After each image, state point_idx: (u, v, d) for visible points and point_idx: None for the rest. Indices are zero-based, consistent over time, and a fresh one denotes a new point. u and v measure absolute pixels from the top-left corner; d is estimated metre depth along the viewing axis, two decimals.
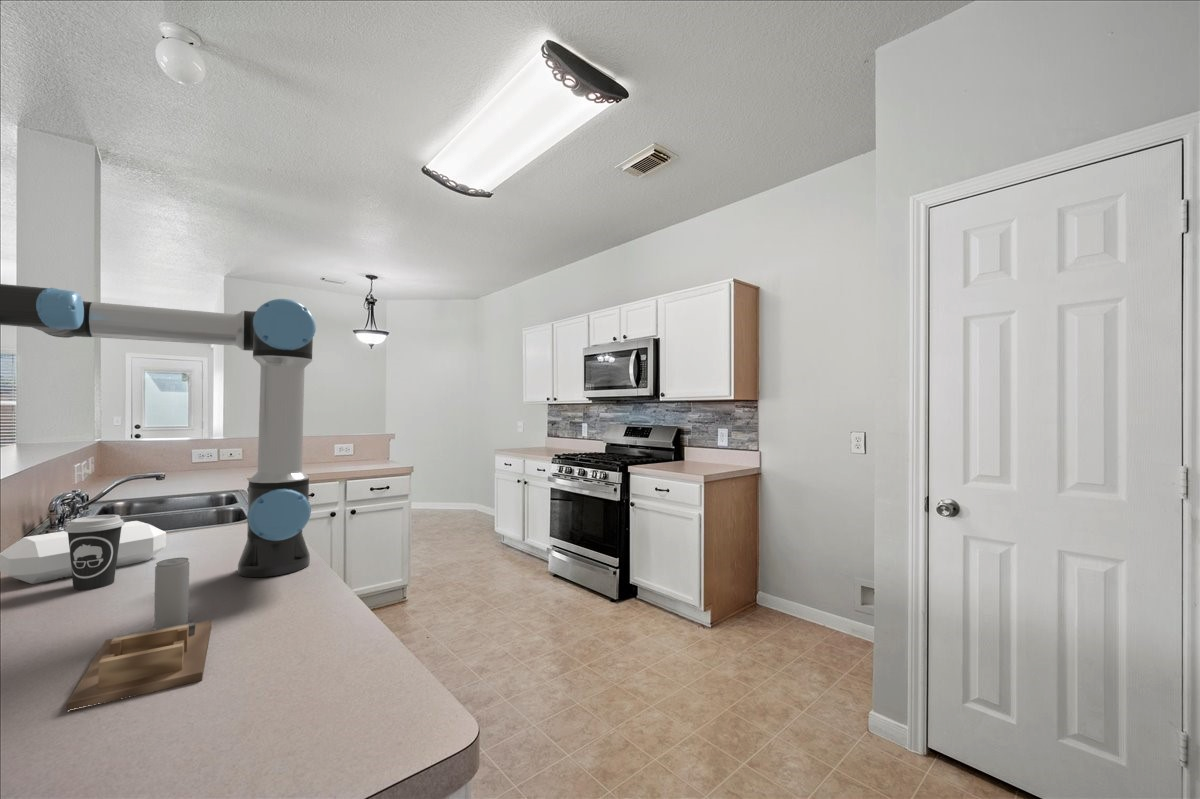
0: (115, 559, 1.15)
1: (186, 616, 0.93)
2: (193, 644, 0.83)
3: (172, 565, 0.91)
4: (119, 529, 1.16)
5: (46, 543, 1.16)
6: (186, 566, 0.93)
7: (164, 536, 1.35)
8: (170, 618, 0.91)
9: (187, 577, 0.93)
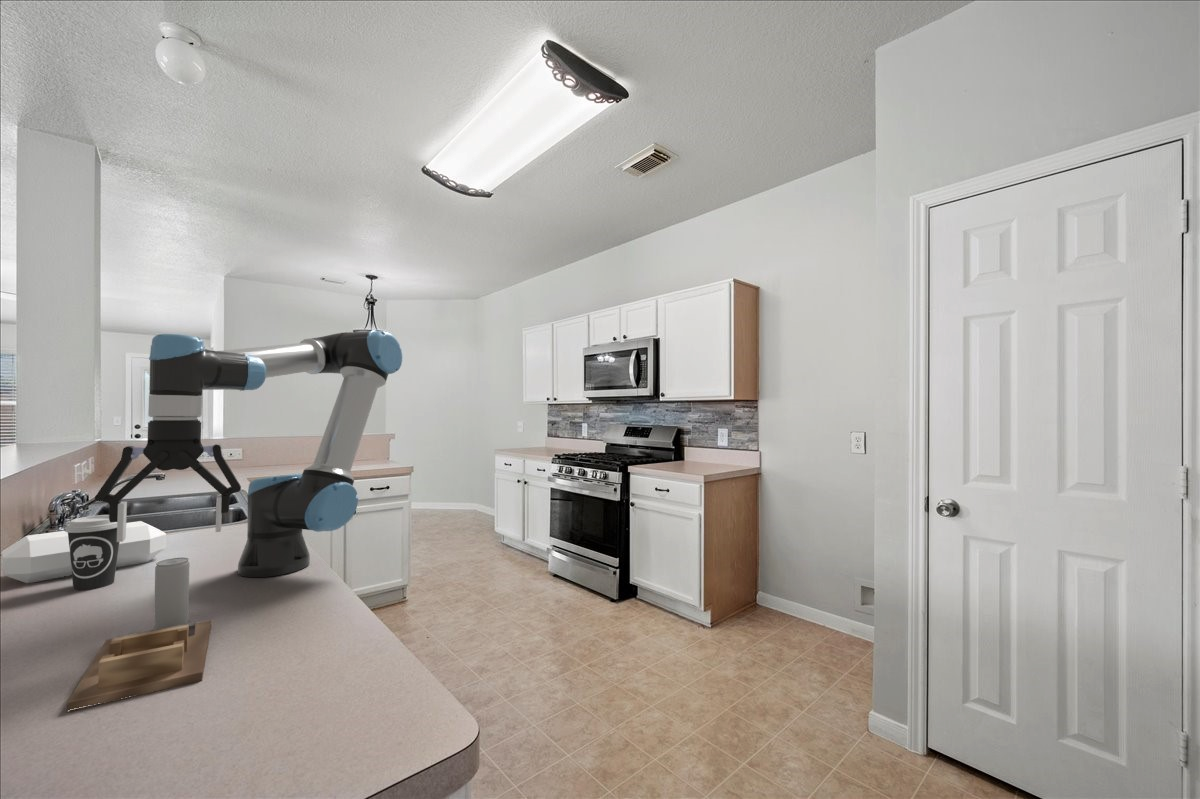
0: (115, 559, 1.15)
1: (186, 616, 0.93)
2: (193, 644, 0.83)
3: (172, 565, 0.91)
4: None
5: (41, 543, 1.16)
6: (186, 566, 0.93)
7: (163, 537, 1.33)
8: (170, 618, 0.91)
9: (187, 577, 0.93)
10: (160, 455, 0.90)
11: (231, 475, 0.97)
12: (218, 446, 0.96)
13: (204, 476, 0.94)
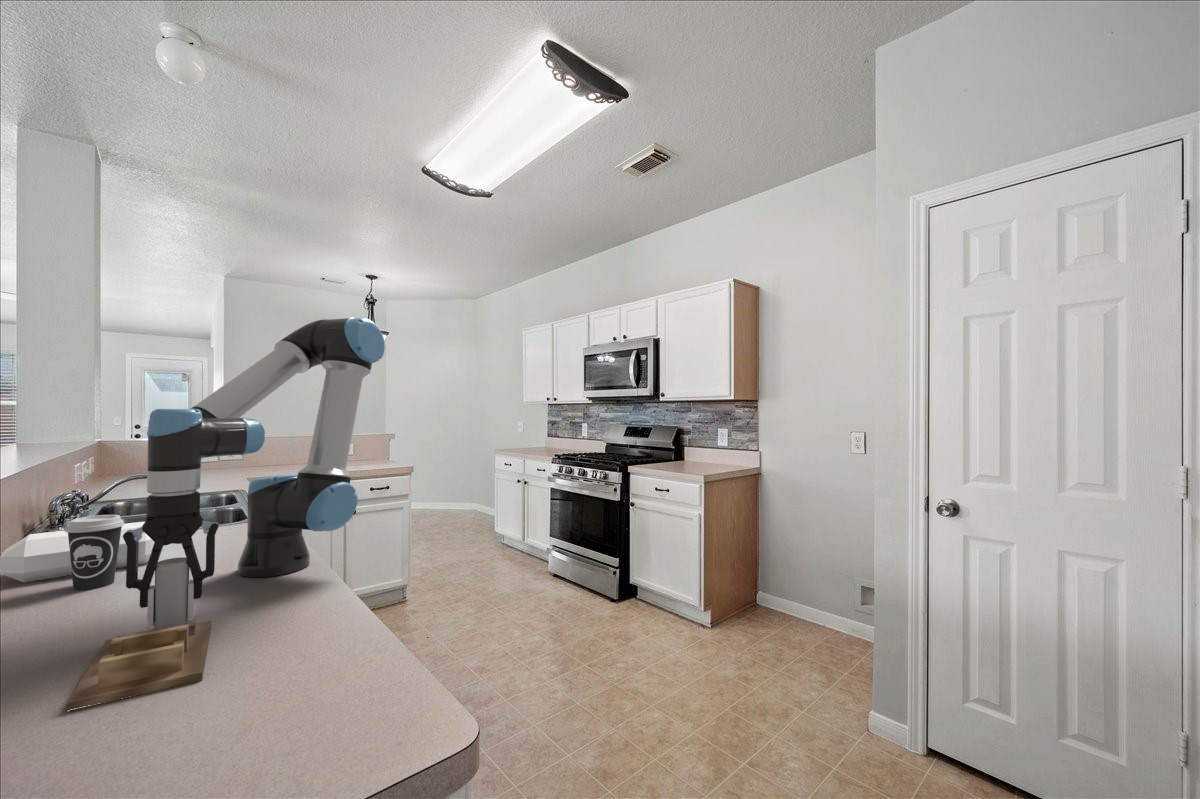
0: (115, 559, 1.15)
1: (186, 616, 0.93)
2: (193, 644, 0.83)
3: (172, 565, 0.91)
4: (119, 529, 1.16)
5: (36, 543, 1.17)
6: (186, 566, 0.93)
7: None
8: (170, 618, 0.91)
9: (187, 577, 0.93)
10: (160, 532, 0.90)
11: (212, 558, 0.95)
12: (216, 526, 0.95)
13: (188, 556, 0.93)
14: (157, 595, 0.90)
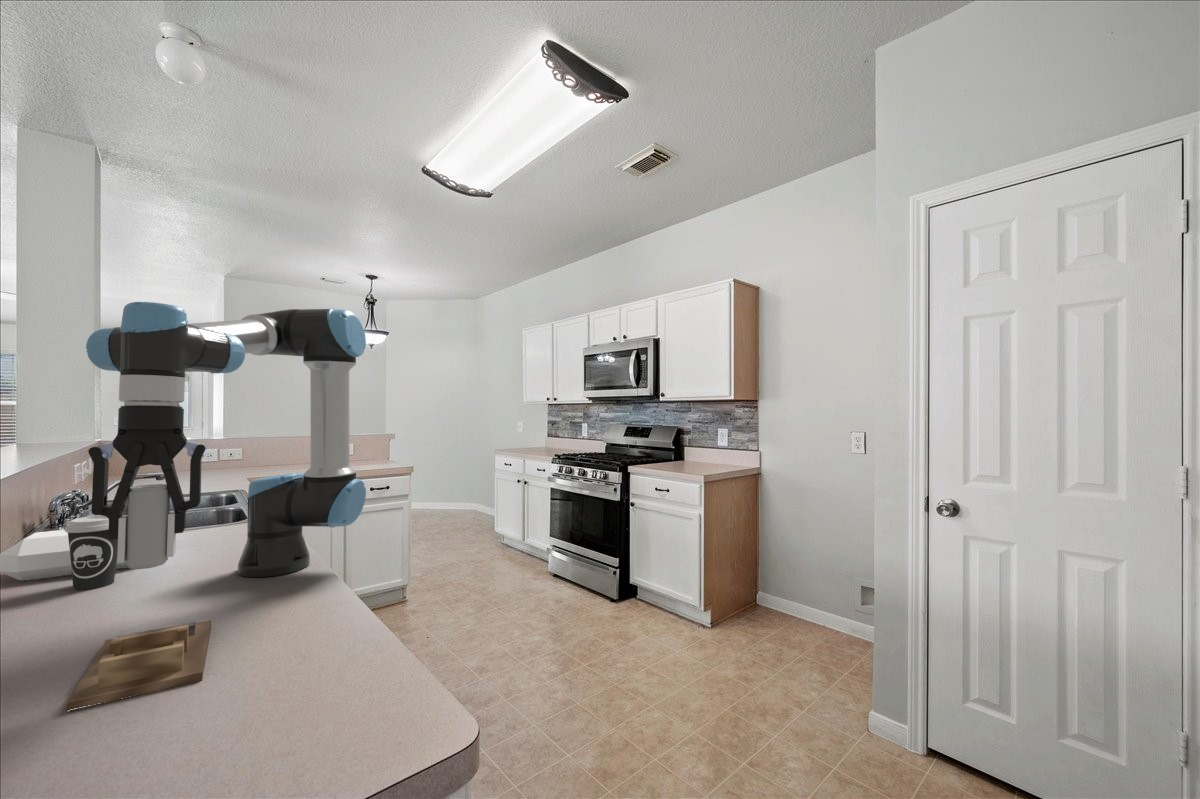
0: (115, 559, 1.15)
1: (165, 553, 0.78)
2: (193, 644, 0.83)
3: (148, 489, 0.76)
4: None
5: (33, 542, 1.17)
6: (166, 492, 0.77)
7: None
8: (145, 553, 0.75)
9: (166, 505, 0.78)
10: (133, 449, 0.75)
11: (197, 485, 0.80)
12: (203, 447, 0.80)
13: (168, 480, 0.78)
14: (130, 525, 0.75)
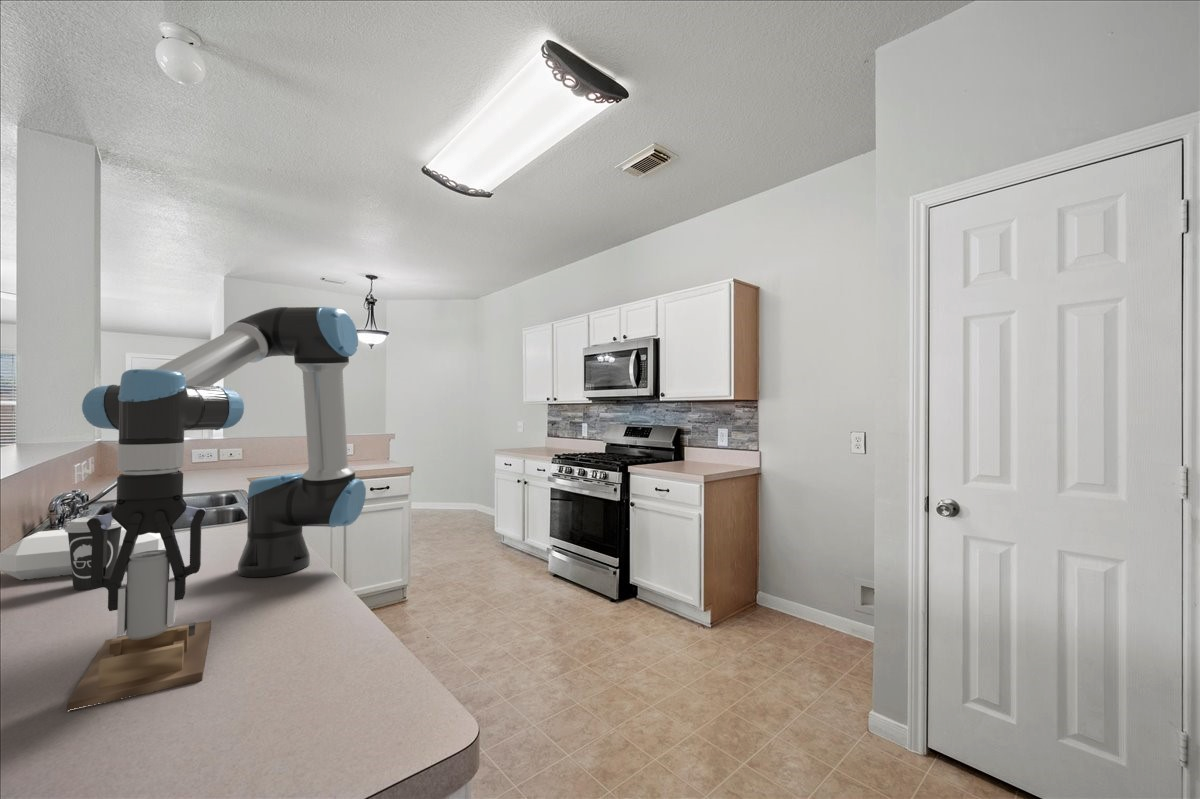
0: (115, 559, 1.15)
1: (165, 621, 0.77)
2: (193, 644, 0.83)
3: (148, 559, 0.75)
4: (119, 529, 1.16)
5: (32, 541, 1.18)
6: (165, 560, 0.77)
7: (154, 543, 1.28)
8: (145, 623, 0.74)
9: (166, 573, 0.77)
10: (133, 519, 0.74)
11: (197, 551, 0.79)
12: (203, 512, 0.79)
13: (168, 548, 0.77)
14: (129, 595, 0.74)
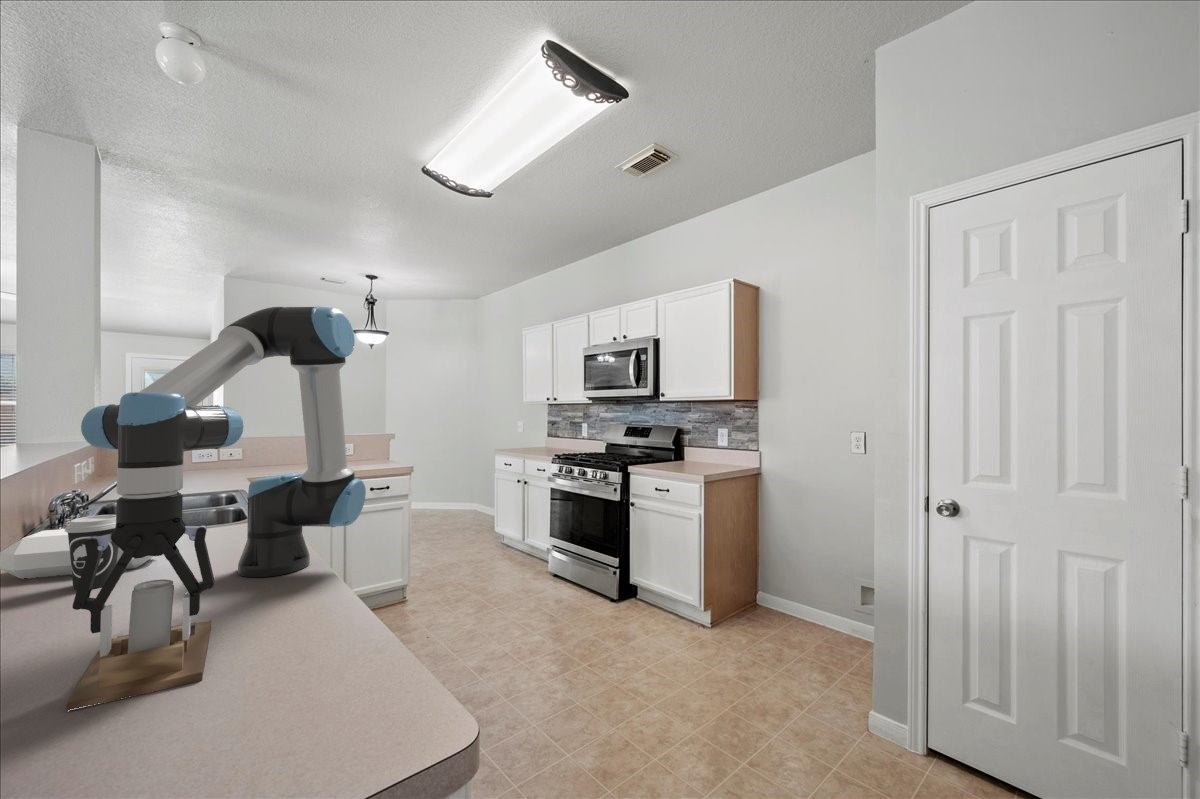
0: (115, 559, 1.15)
1: None
2: (193, 644, 0.83)
3: (152, 590, 0.75)
4: None
5: (31, 541, 1.18)
6: (170, 591, 0.77)
7: None
8: None
9: (170, 604, 0.77)
10: (132, 542, 0.74)
11: (207, 567, 0.80)
12: (203, 530, 0.79)
13: (176, 567, 0.77)
14: (132, 626, 0.74)
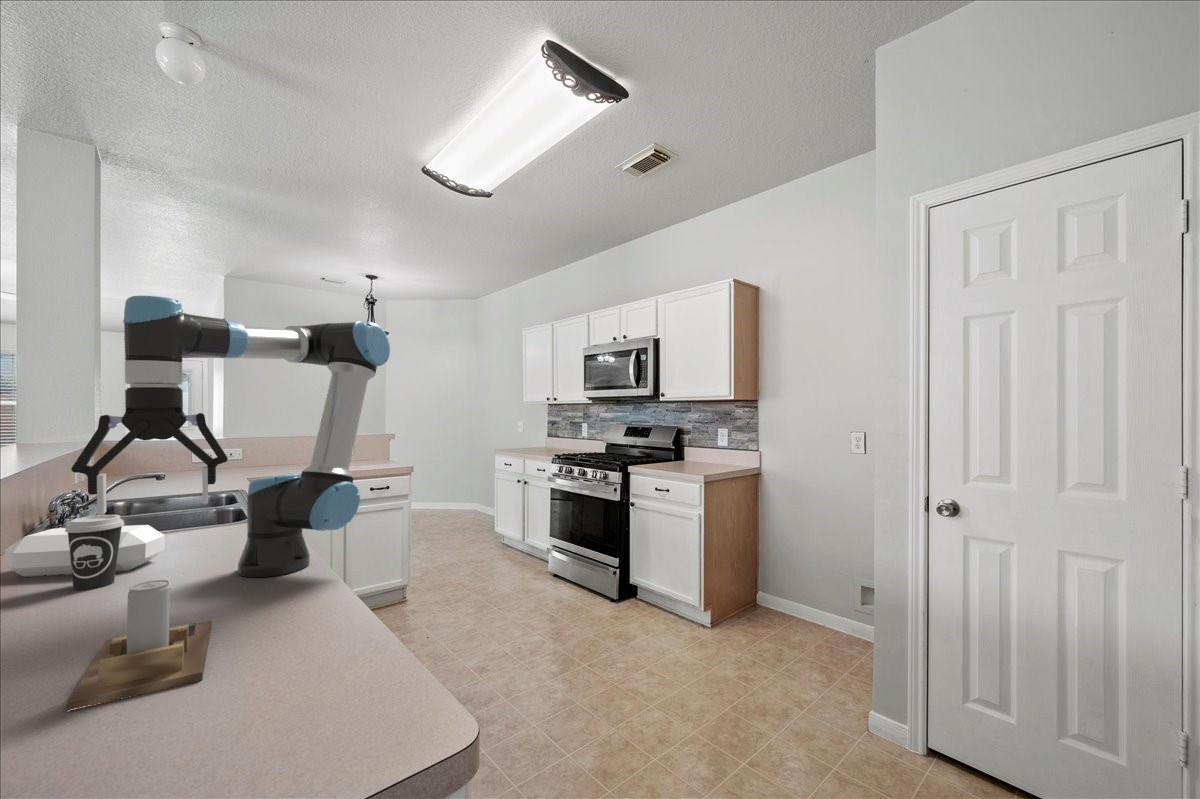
0: (115, 559, 1.15)
1: None
2: (193, 644, 0.83)
3: (148, 590, 0.75)
4: (119, 529, 1.16)
5: (31, 539, 1.19)
6: (166, 591, 0.77)
7: (141, 547, 1.24)
8: None
9: (167, 604, 0.77)
10: (140, 424, 0.86)
11: (217, 445, 0.93)
12: (202, 415, 0.91)
13: (188, 446, 0.90)
14: (130, 627, 0.74)
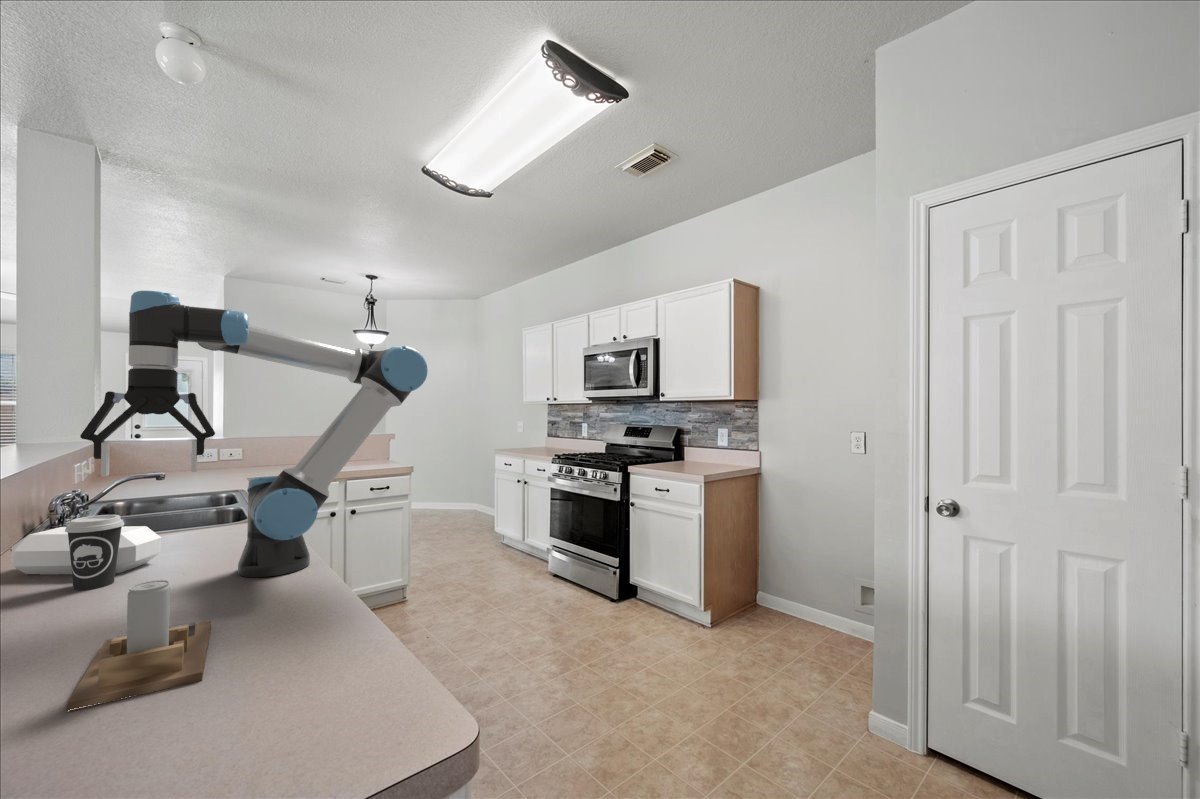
0: (115, 559, 1.15)
1: None
2: (193, 644, 0.83)
3: (148, 590, 0.75)
4: (119, 529, 1.16)
5: (33, 538, 1.21)
6: (166, 591, 0.77)
7: (131, 549, 1.22)
8: None
9: (167, 604, 0.77)
10: (139, 400, 1.00)
11: (205, 421, 1.07)
12: (193, 394, 1.05)
13: (180, 421, 1.04)
14: (130, 627, 0.74)
